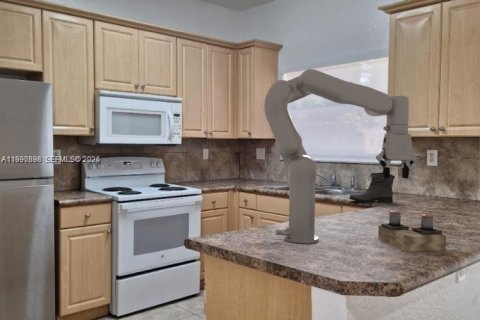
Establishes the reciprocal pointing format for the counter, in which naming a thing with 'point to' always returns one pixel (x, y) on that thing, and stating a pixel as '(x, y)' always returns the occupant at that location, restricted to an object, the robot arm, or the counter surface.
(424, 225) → the peg
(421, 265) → the counter surface
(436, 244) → the maple block
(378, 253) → the counter surface
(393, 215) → the peg
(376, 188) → the boot
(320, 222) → the counter surface
